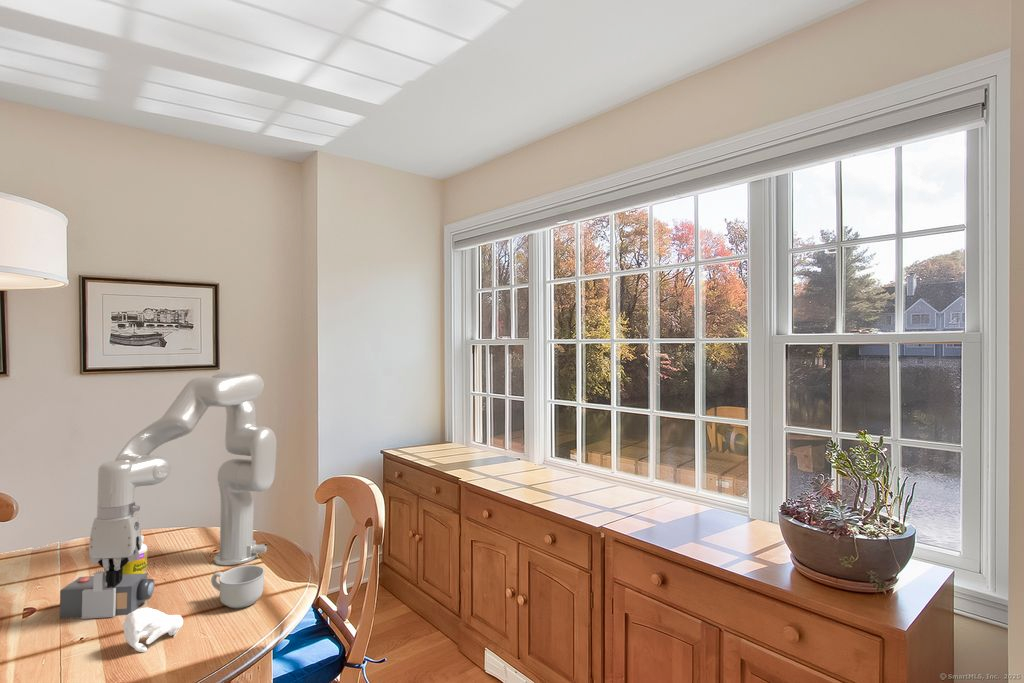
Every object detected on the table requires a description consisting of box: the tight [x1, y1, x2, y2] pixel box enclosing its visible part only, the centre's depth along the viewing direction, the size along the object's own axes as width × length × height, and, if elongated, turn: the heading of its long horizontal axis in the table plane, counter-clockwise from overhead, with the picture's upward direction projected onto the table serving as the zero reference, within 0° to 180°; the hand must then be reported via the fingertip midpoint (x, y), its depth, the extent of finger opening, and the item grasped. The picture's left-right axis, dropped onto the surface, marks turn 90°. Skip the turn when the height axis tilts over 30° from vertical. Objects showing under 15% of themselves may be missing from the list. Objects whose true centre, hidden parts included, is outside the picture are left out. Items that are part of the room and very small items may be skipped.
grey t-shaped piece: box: [81, 570, 116, 620], centre depth 135 cm, size 7×1×11 cm, turn 100°
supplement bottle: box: [123, 534, 149, 575], centre depth 155 cm, size 7×7×13 cm
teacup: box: [210, 564, 265, 609], centre depth 144 cm, size 14×11×8 cm
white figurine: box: [122, 607, 184, 653], centre depth 124 cm, size 6×8×12 cm
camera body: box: [59, 573, 155, 620], centre depth 139 cm, size 18×8×8 cm, turn 100°
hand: (114, 584), depth 135 cm, fingers closed
